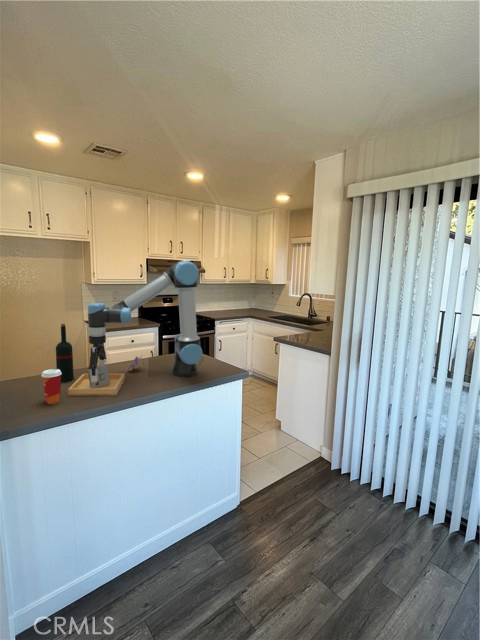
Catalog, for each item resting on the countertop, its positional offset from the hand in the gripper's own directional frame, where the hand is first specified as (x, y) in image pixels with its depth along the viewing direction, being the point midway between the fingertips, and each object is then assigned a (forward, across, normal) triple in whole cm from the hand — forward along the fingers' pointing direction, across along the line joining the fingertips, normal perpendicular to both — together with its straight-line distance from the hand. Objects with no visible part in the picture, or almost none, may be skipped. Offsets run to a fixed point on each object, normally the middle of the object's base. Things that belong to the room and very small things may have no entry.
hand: (98, 376), depth 159 cm
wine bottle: (+6, -12, -20) cm, 24 cm away
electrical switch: (+5, 0, 0) cm, 5 cm away
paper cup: (+6, +16, -15) cm, 23 cm away
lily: (+6, -26, +14) cm, 30 cm away
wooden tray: (+6, 0, 0) cm, 6 cm away
